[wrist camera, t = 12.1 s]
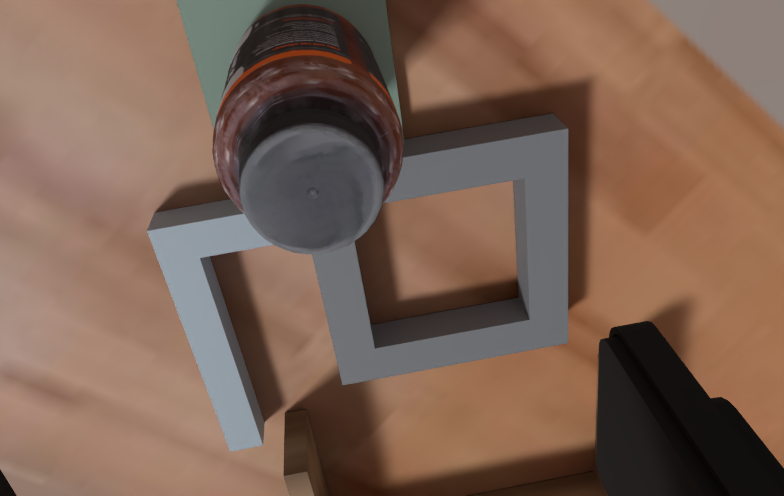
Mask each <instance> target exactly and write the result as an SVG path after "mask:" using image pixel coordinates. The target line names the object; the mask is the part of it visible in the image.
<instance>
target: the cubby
mask: <svg viewBox="0 0 784 496" xmlns="http://www.w3.org/2000/svg"><path fill="white" fill-rule="evenodd" d="M598 368H599V354H598ZM597 407H598V378H597ZM596 446H597V409H596V441H595V471H593V472H588V473H583V474H578V475H573V476H568V477H563V478H558V479H552V480H547V481H542V482H537V483H532V484H527V485H522V486H517V487H512V488H506V489H501V490H496V491H491V492H486V493H481V494H476V495H471V496H608V495H607V493H606V490H605V488H604V486H603V484H602V482H601V479H600V476H599V473H598V469H597V463H596ZM284 479H285V482H286V485H287V488H288V491H289V494H290V496H330V494H329V491H328V487H327V483H326V480H325V476H324V473H323V469H322V465H321V462H320V458H319V455H318V451H317V447H316V444H315V440H314V436H313V433H312V429H311V426H310V422H309V418H308V415H307V411H306V409H303V410H298V411H293V412H287V413H285V435H284Z"/></svg>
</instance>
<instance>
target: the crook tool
mask: <svg viewBox="0 0 784 496" xmlns="http://www.w3.org/2000/svg"><path fill="white" fill-rule="evenodd" d="M147 232H148V235H149V237H150V240H151V243H152V245H153V248H154V251H155V253H156V256H157V259H158V261H159V264H160V266H161V269H162V272H163V274H164V277H165V280H166V282H167V285H168V288H169V290H170V293H171V296H172V298H173V301H174V304H175V306H176V309H177V312H178V314H179V317H180V319H181V322H182V325H183V327H184V330H185V333H186V335H187V338H188V341H189V343H190V346H191V349H192V351H193V354H194V357H195V359H196V362H197V365H198V367H199V370H200V372H201V375H202V378H203V380H204V383H205V386H206V388H207V391H208V394H209V396H210V399H211V402H212V404H213V407H214V410H215V412H216V415H217V418H218V420H219V423H220V425H221V428H222V431H223V433H224V436H225V439H226V441H227V444H228V447H229V449H230V452H231V451H236V450H241V449H246V448H252V447H257V446H262V445H263V437H264V420H263V417H262V414H261V410H260V407H259V404H258V401H257V398H256V395H255V392H254V389H253V386H252V383H251V380H250V377H249V374H248V371H247V368H246V365H245V362H244V359H243V356H242V353H241V350H240V347H239V343H238V340H237V337H236V334H235V331H234V328H233V325H232V322H231V319H230V316H229V313H228V310H227V307H226V304H225V301H224V298H223V295H222V292H221V289H220V286H219V283H218V280H217V276H216V273H215V270H214V267H213V264H212V261H211V258H210V256H214V255H220V254H225V253H231V252H236V251H242V250H247V249H253V248H258V247H264V246H269V245H273V244H272V243H270V242H268V241H267V240H265V239H264V238H263V237H262V236H261V235H260V234H259V233H258V232H257V231H256V230H255V229H254V228H253V227H252V225H251V224H250V222H249V221H248V219H247V217H246V215H245V214H244V213H243V212H241V211H240V210H239V209H238V207H237V206H236V205H235V204H234V202H233V201H232V200H231V199H228V200H223V201H217V202H211V203H206V204H200V205H195V206H189V207H183V208H178V209H172V210H167V211H161V212H155V213H154V215H153V217H152V220H151V222H150V225H149V228H148V230H147Z"/></svg>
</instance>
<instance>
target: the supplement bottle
mask: <svg viewBox="0 0 784 496" xmlns="http://www.w3.org/2000/svg"><path fill="white" fill-rule="evenodd" d="M403 152H404V147H403V134H402V127H401V123H400V119H399V116H398V114H397V110H396V108H395V105H394V103H393V100H392V98H391V96H390V93H389V91H388V89H387V86H386V83H385V81H384V78H383V76H382V74H381V72H380V69H379V67H378V64H377V62H376V60H375V57H374V55H373V52H372V50H371V48H370V46H369V45H368V43H367V41H366V40H365V38H364V37H363V36H362V35H361V33H360V32H359V31H358V30H357V29H356V27H355V26H353V25H352V24H351V23H350V22H349V21H348V20H346V19H345V18H344V17H342V16H340V15H339V14H337V13H335V12H334V11H332V10H329V9H327V8H324V7H320V6H315V5H306V4H297V5H289V6H284V7H280V8H277V9H274V10H272V11H270V12H268V13H266V14H265V15H263V16H261V17H260V18H259V19H258V20H256V21H255V22H254V23H253V24H252V25H251V26H250V27H249V28H248V29H247V30H246V32H245V33H244V35H243V36H242V38H241V39H240V41H239V43H238V45H237V47H236V49H235V51H234V54H233V57H232V61H231V64H230V68H229V70H228V76H227V80H226V84H225V88H224V91H223V94H222V98H221V103H220V106H219V110H218V113H217V117H216V122H215V126H214V134H213V158H214V163H215V168H216V171H217V174H218V177H219V181H220V183H221V185H222V187H223V190H224V191H225V192H226V193H227V194H228V196H229V197H230V199H231V200H232V201H233V202H234V204H235V205H236V206H237V207H238V209H239V210H240V211H241V212H243V213H244V214H245V215H246V217H247V219H248V221H249V222H250V224H251V225H252V227H253V228H254V229H255V230H256V231H257V232H258V233H259V234H260V235H261V236H262V237H263V238H264V239H265V240H267V241H268V242H270V243H272V244H273V245H275V246H278V247H280V248H282V249H285V250H289V251H291V252H294V253H300V254H323V253H327V252H332V251H334V250H337V249H340V248H342V247H344V246H348V245H350V244H351V243H352V242H354V241H355V240H357V239H358V238H360V237H361V236H362V235H363V234H364V233H366V232H367V231H368V229H369V228H370V226H371V225H372V224H373V223H374V221H375V220H376V218H377V216H378V213H379V211H380V209H381V207H382V204H383V203H384V202H385V201H386V199H387V198H388V197H389V195H390V194H391V192H392V191H393V189H394V187H395V185H396V182H397V180H398V177H399V174H400V171H401V167H402V162H403Z"/></svg>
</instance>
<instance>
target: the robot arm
mask: <svg viewBox="0 0 784 496" xmlns="http://www.w3.org/2000/svg"><path fill="white" fill-rule="evenodd" d="M596 463H597V469H598V473H599V476H600V479H601V482H602V484H603V486H604V488H605V490H606V493H607V495H608V496H784V468H783V467H782V466H781V464H780V463H779V462H778V461H777V459H776V458H775V457H774V456H773V454H772V453H771V452H770V451H769V449H768V448H767V447H766V446H765V444H764V443H763V442H762V441H761V439H760V438H759V437H758V435H757V434H756V433H755V432H754V430H753V429H752V428H751V427H750V425H749V424H748V423H747V422H746V420H745V419H744V418H743V417H742V415H741V414H740V413H739V412H738V410H737V409H736V408H735V407H734V406H733V405H732V404H731V403H730V402H729V401H728V400H726V399H724V398H722V397H718V398H711V399H710V397H709V396H708V395H707V393H706V392H705V391H704V389H703V388H702V387H701V385H700V384H699V383H698V382H697V380H696V379H695V378H694V376H693V375H692V374H691V372H690V371H689V370H688V368H687V367H686V366H685V364H684V363H683V362H682V361H681V359H680V358H679V357H678V355H677V354H676V353H675V351H674V350H673V349H672V347H671V346H670V345H669V343H668V342H667V341H666V339H665V338H664V337H663V336H662V334H661V333H660V332H659V330H658V329H657V328H656V326H655V325H654V324H653V323H652V322H649V321H645V322H640V323H634V324H629V325H623V326H618V327H613V328H611V331H610V334H609V338H605V339H601V340H600V343H599V368H598V407H597V446H596ZM0 496H16V494H15V492H14V491H13V489H12V488H11V486H10V484H9V483H8V481H7V480H6V478H5V476H4V475H3V473H2V472H1V470H0Z"/></svg>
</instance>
